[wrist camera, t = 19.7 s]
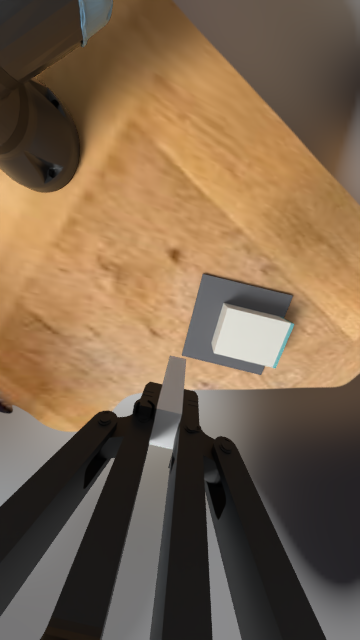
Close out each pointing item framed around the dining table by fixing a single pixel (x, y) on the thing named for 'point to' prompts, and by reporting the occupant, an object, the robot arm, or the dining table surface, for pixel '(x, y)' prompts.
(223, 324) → the grey teal block
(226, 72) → the dining table surface
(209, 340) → the rubber mat
